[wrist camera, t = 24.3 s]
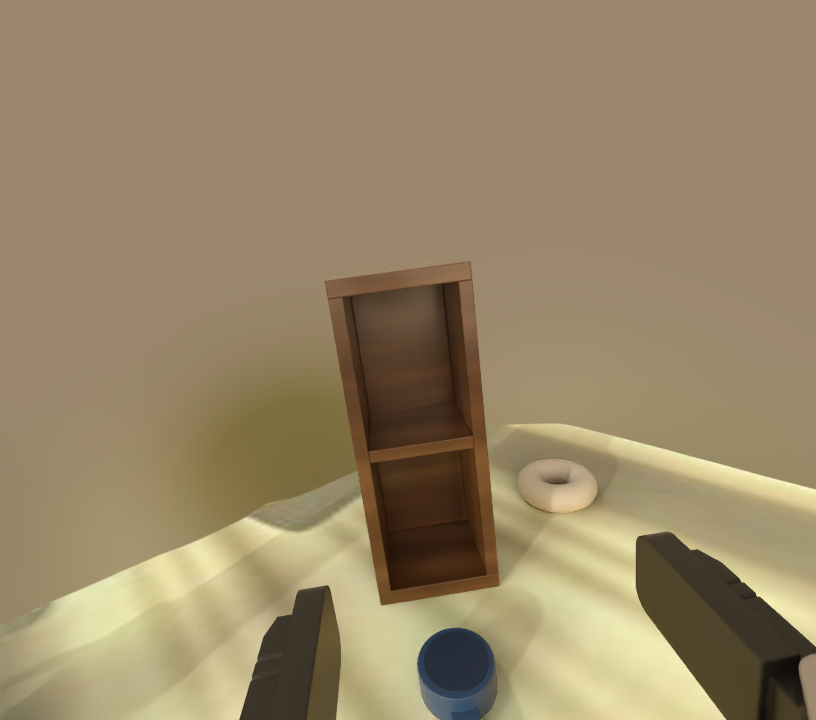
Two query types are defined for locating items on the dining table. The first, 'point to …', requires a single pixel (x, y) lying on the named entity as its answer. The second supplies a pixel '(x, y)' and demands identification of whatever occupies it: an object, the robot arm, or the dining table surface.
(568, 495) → the donut
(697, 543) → the dining table surface
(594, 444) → the dining table surface
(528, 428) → the dining table surface
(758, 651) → the robot arm
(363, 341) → the shelf
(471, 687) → the blue elongated piece
